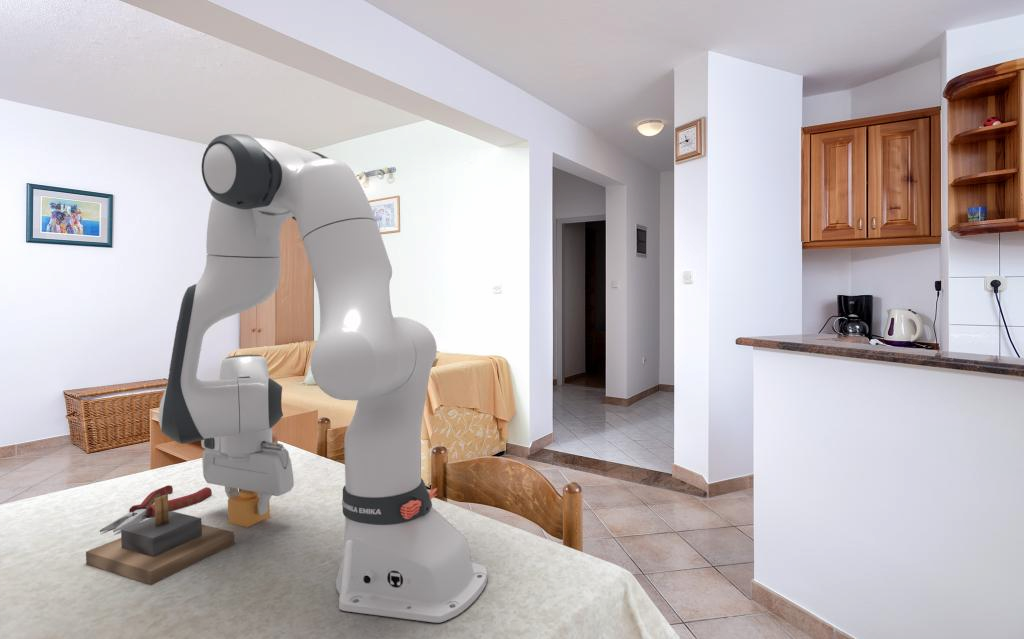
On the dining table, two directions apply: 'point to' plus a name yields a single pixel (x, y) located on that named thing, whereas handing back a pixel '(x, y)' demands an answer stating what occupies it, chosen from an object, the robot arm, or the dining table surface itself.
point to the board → (159, 562)
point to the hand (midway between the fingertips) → (248, 511)
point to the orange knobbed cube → (245, 509)
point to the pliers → (148, 508)
